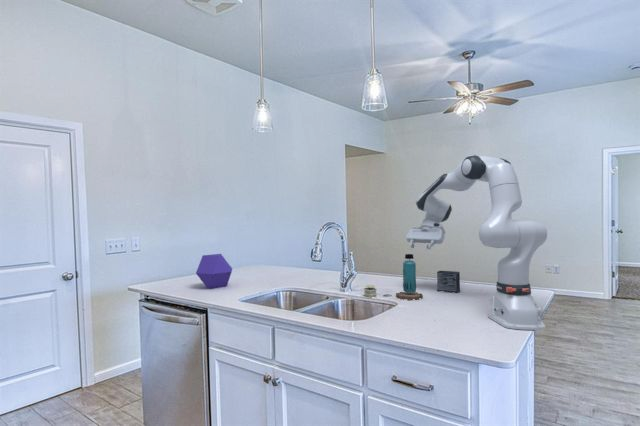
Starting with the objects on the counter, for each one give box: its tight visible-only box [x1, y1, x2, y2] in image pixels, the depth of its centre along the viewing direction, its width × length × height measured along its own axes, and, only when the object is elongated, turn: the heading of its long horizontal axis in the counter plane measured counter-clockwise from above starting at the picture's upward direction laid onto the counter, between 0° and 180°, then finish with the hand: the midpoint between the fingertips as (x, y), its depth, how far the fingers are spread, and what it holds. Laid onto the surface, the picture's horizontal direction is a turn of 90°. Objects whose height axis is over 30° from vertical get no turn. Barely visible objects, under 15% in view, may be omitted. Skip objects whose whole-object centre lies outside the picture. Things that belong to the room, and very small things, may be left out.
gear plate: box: [395, 291, 424, 301], centre depth 192 cm, size 13×13×2 cm
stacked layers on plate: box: [363, 284, 378, 299], centre depth 196 cm, size 10×9×6 cm
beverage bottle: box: [402, 253, 417, 292], centre depth 192 cm, size 6×7×20 cm
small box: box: [436, 270, 461, 294], centre depth 205 cm, size 11×6×10 cm, turn 58°
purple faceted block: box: [195, 253, 233, 290], centre depth 227 cm, size 22×20×20 cm
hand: (419, 247), depth 200 cm, fingers open, 8 cm apart
